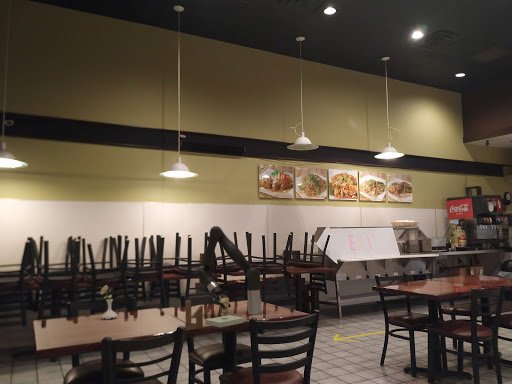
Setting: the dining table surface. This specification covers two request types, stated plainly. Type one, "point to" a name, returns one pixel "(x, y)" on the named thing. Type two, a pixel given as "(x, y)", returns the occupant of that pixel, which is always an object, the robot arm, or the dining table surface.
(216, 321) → the sage board
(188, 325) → the brown wooden bracket
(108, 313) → the flower in vase
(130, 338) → the dining table surface
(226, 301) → the beech peg
